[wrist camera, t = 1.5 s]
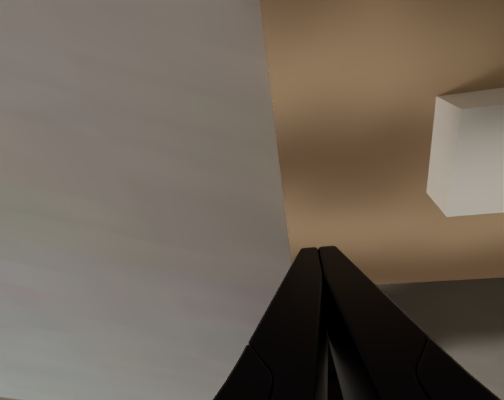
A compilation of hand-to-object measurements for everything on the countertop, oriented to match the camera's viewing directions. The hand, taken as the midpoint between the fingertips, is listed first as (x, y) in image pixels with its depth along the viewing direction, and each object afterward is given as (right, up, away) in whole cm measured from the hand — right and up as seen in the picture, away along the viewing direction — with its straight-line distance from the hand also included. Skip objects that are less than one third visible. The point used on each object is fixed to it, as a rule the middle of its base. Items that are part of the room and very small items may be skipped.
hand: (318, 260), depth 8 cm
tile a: (+7, +4, +5) cm, 9 cm away
